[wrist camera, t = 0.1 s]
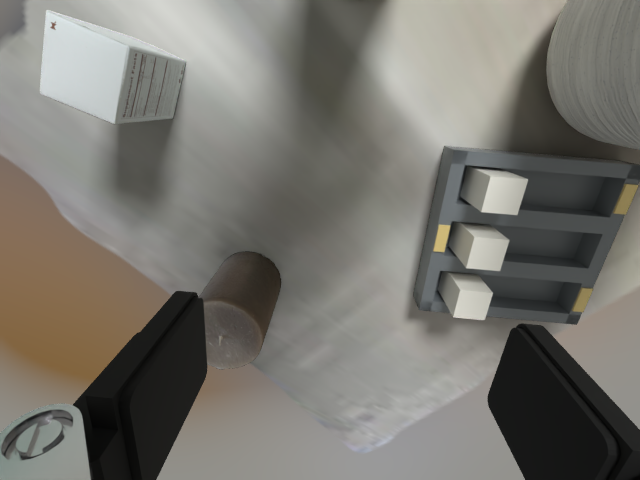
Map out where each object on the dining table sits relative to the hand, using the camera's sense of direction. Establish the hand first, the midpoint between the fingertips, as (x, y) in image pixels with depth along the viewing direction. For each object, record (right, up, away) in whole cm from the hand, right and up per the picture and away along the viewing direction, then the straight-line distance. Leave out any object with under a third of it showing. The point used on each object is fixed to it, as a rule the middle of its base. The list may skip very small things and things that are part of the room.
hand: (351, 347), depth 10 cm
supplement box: (-22, +23, +32) cm, 45 cm away
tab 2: (+20, +11, +33) cm, 40 cm away
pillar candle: (-12, -3, +42) cm, 43 cm away
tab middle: (+19, +4, +36) cm, 40 cm away
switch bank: (+25, +4, +37) cm, 44 cm away
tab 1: (+18, -2, +38) cm, 42 cm away
